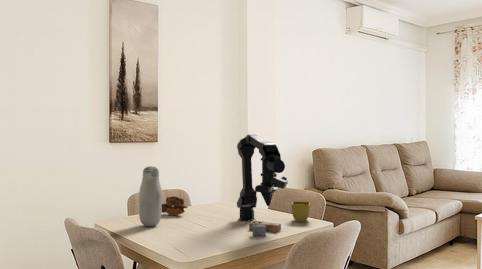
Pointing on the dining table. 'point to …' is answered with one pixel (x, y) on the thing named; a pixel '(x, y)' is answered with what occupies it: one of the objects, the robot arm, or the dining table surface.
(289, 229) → the dining table surface
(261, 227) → the keeper
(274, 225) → the link
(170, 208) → the wooden carving
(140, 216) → the grey tall rounded cylinder
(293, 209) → the flower pot
